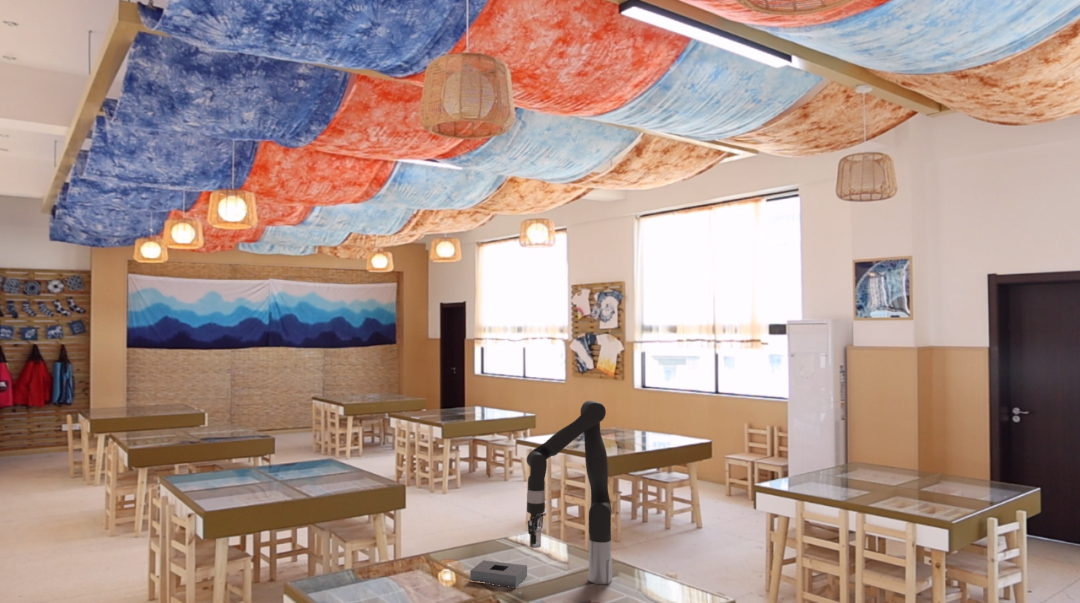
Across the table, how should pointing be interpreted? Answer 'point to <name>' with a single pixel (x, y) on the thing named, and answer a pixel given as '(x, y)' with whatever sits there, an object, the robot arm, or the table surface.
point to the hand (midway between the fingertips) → (535, 541)
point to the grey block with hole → (499, 573)
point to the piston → (537, 539)
